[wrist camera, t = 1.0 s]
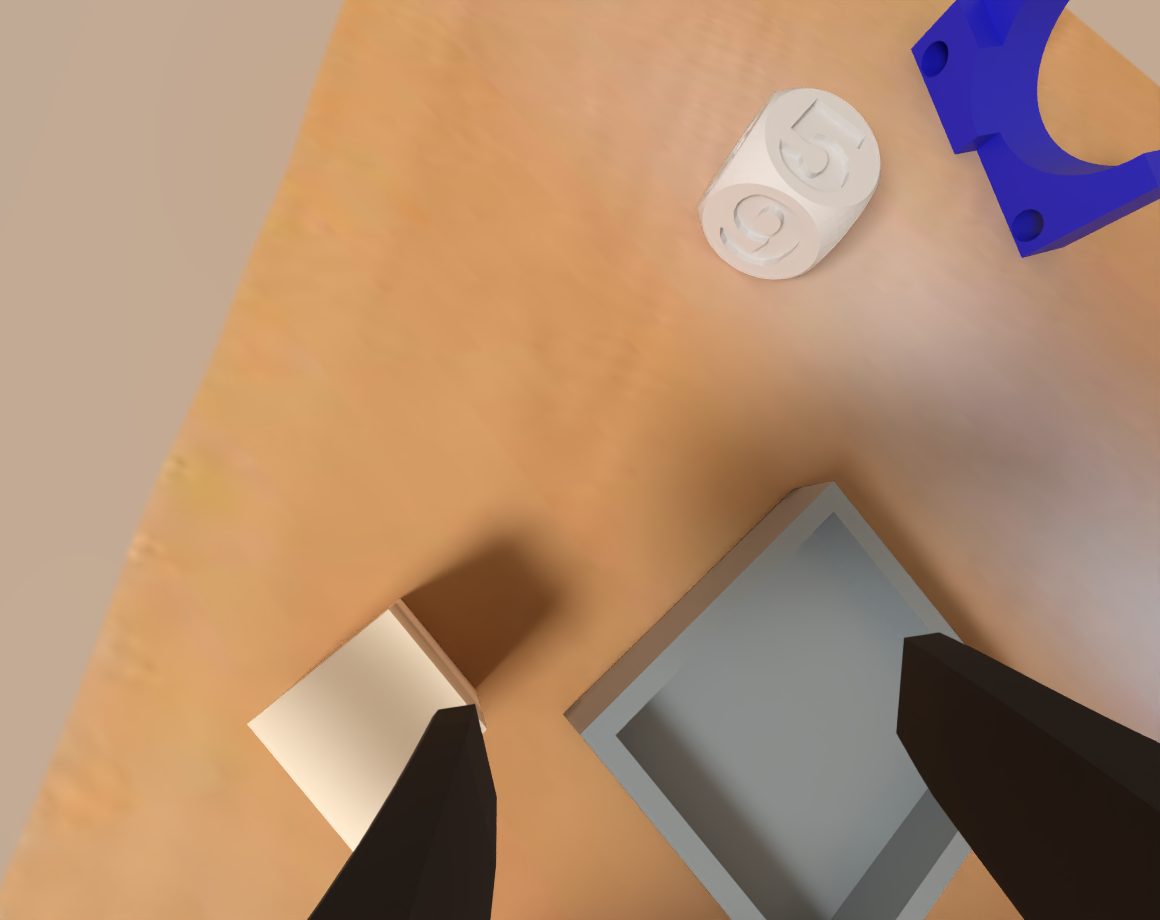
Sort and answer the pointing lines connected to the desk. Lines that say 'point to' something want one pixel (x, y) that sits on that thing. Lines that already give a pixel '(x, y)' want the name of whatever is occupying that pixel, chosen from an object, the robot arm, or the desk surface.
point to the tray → (784, 725)
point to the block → (362, 717)
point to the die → (791, 185)
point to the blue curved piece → (1022, 124)
